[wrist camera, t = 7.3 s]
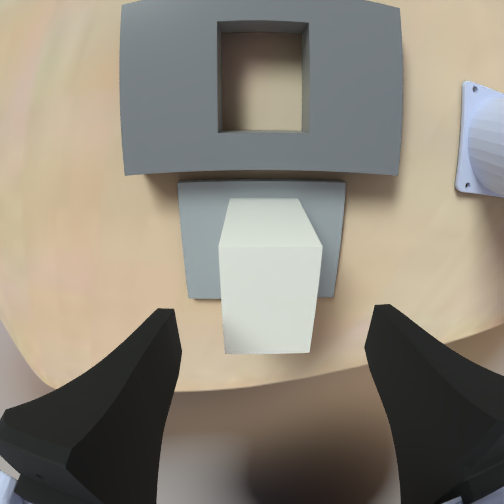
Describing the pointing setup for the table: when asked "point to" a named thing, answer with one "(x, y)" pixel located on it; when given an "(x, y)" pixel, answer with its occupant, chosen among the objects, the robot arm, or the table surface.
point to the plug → (268, 276)
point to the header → (210, 87)
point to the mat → (220, 191)
